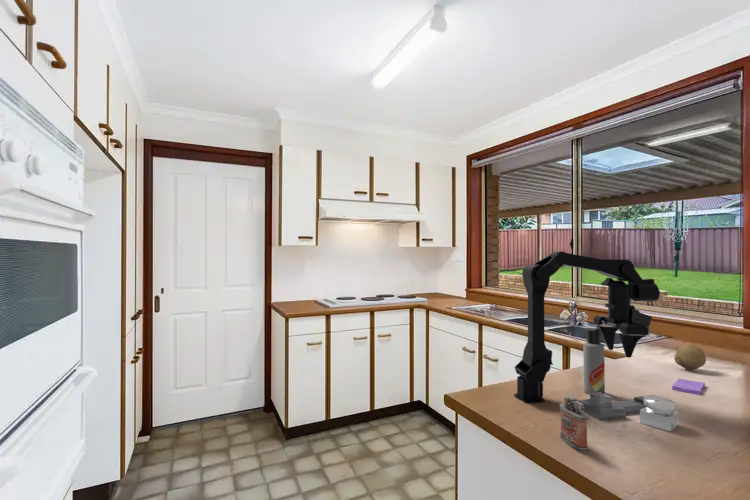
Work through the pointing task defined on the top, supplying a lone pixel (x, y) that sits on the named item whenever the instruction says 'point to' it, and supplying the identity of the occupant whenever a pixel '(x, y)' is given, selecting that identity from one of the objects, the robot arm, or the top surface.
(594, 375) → the lotion bottle
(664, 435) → the top surface
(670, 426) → the grey square-based fixture
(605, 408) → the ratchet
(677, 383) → the sponges
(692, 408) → the top surface
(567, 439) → the lighter
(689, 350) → the potato
